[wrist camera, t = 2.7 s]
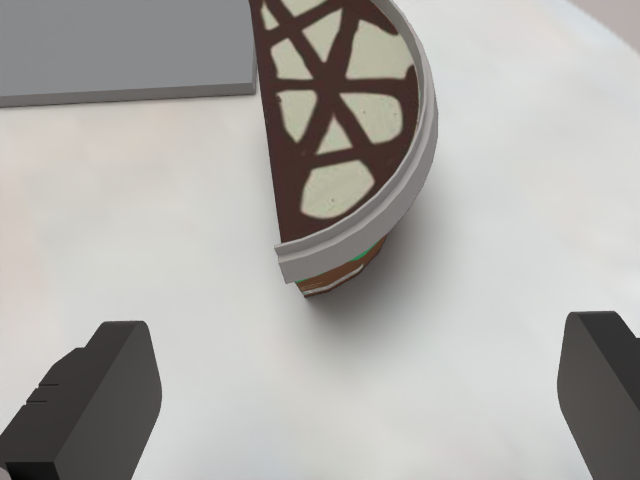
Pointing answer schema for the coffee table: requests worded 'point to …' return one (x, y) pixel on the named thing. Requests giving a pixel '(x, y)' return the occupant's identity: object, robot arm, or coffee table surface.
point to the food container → (341, 129)
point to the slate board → (124, 50)
